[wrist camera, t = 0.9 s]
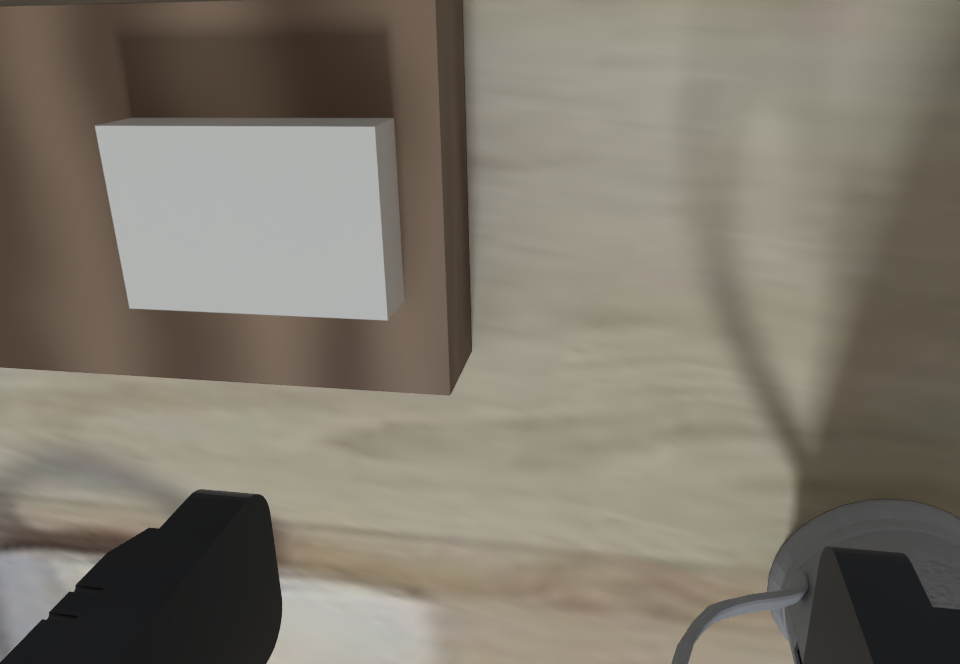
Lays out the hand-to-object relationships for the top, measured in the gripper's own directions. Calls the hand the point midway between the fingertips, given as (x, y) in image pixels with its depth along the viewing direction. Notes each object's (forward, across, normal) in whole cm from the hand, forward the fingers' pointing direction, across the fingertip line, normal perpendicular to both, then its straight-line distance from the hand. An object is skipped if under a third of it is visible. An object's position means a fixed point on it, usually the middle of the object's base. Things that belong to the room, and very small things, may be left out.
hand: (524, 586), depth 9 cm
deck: (+22, +15, 0) cm, 26 cm away
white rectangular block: (+18, +11, 0) cm, 21 cm away
